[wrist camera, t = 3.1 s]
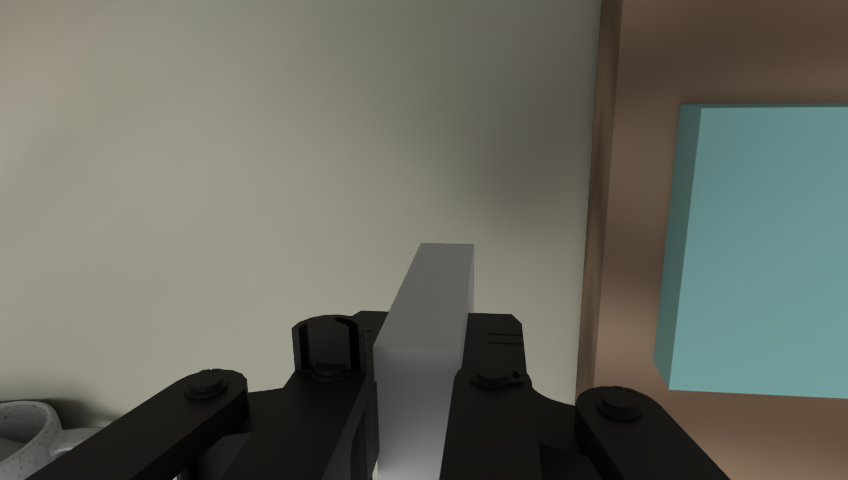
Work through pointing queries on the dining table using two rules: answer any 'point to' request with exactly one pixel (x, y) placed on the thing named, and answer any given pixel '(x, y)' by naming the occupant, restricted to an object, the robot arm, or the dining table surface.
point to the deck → (650, 200)
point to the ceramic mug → (33, 438)
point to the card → (757, 252)
